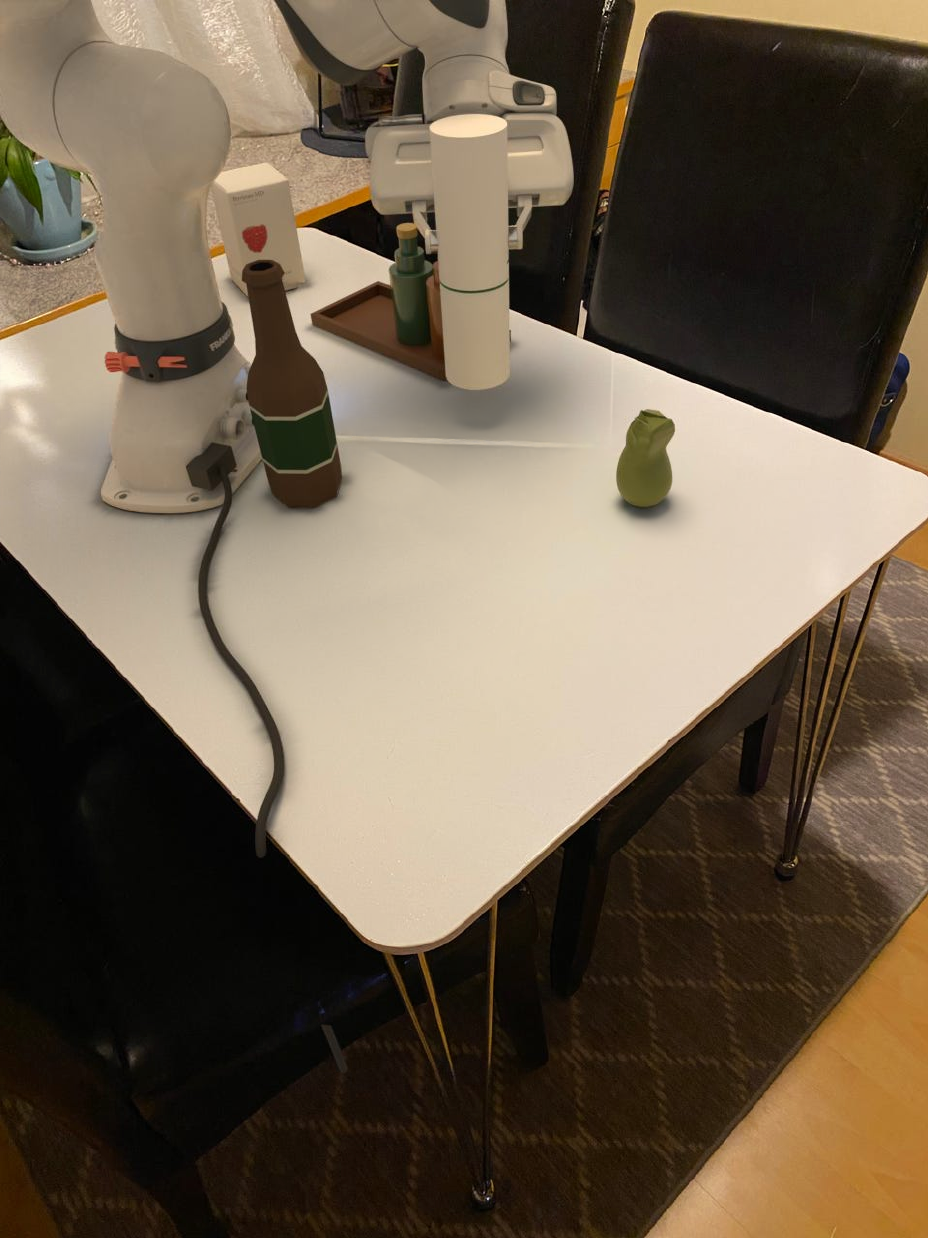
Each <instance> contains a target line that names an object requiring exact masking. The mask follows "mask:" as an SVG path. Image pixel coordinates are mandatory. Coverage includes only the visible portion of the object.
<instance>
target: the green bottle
mask: <svg viewBox="0 0 928 1238" xmlns="http://www.w3.org/2000/svg"><path fill="white" fill-rule="evenodd" d="M418 231H419V229H418V228H417V227H416V225H415V224H414V222H405V223H400V224H398V225H397V226H396V236H397V238H398V245H399V248H397V249H395V251H394V261H395V262H394V263H392V264H391V265H390V266H389V267H388V277H389V285H390V287H391V296H392V305H393V314H394V323H395V332H396V338H397V340H398V341H399V342H400V343H402V344H405V345H413V346H414V345H423V344H427V343H430V342H431V336H430V324H429V312H428V300H427V288H426V281H427V279H428V278H429V277H431V276H433V264H432V263H431V261H428V260H425V250H424V249H423V247H421V246H419V245H418V234H419V232H418Z"/></svg>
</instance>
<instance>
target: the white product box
mask: <svg viewBox="0 0 928 1238" xmlns="http://www.w3.org/2000/svg"><path fill="white" fill-rule="evenodd" d="M210 191H211V195H212V200H213V204H214V208H215V213H216V217H217V221H218V227H219V231H220V235H221V239H222V243H223V248H224V252H225V257H226V262H227V266H228V270H229V275H230V278H231V280H232V281H233V282H234V283H235V285H236V286H237V287H238V288H239V289H240V290H241V291H242V292H243V294H244V295H245V296H246V297H247V298H248V292H247V285H246V283H244V282H243V281H242V270H243V269H244V267H245V265H246V264H248V263H251V262H254V261H257V260H274V261H275V262H277V263H279V264H280V265H281V267H282V269H283V271H284V275H283V277H282V281H283V285H284V288H285V292H287V291H290V290H294V289H297V288H299V287H300V285H301V284H304V283H307V281H306V275H305V268H304V263H303V258H302V252H301V246H300V240H299V233H298V229H297V223H296V217H295V212H294V205H293V200H292V199H293V198H292V194H291V193H292V192H291V188H290V182H289V179H288V178H287V177H286V176H285V175H284V174H282V173H281V172H279V171H278V170H277V169H276V168H275V167H274V166H272V164H270V163H269V162H268V161H267V162H261V163H257V164H254V165H253V164H252V165H248V166H242V167H237V168H233V169H228V170H225V171H221V173H220V174H219V176H218V177H217V178H216V179H215V180H214V181H213V183H212V184H211V186H210Z"/></svg>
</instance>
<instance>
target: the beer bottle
mask: <svg viewBox="0 0 928 1238" xmlns="http://www.w3.org/2000/svg"><path fill="white" fill-rule="evenodd" d="M283 275H284V271H283V269H282V267H281V265H280V264H279V263H277V262H275V261H274V260H257V261H254V262H251V263H248V264H246V265H245V267H244V269H243V270H242V281H243V282H244V283H246V285H247V292H248V297H247V298H248V303H249V310H250V316H251V322H252V327H253V328H252V329H253V334H254V344H255V346H254V347H255V356H254V358H253V360H252V362H251V367H250V370H249V372H248V379H247V386H246V389H247V396H248V402H249V407H250V411H251V415H252V419H253V423H254V427H255V431H256V435H257V439H258V443H259V447H260V451H261V455H262V459H261V460H262V463H263V467H264V471H265V475H266V479H267V483H268V486H269V489H270V492H271V494H272V495H273V496H274V497H275V498H276V499H277V500H278V501H280V502H281V503H282V504H284V505H285V506H286V507H287V508H290V509H291V508H293V509H295V508H297V509H299V508H300V509H301V508H302V509H309V508H310V509H315V508H316V507H319V506H321V505H323V504H324V503H327V502H329V501H331V500H333V499H335V498H337V496H338V494H339V490H340V487H341V483H342V480H343V474H342V473H343V472H342V463H341V457H340V451H339V446H338V439H337V435H336V429H335V423H334V418H333V411H332V406H331V401H330V395H329V389H328V385H327V381H326V378H325V373H324V371H323V369H322V368H321V366H320V365H319V363H318V361H317V360H316V358H315V357H314V356H313V355H311V353H310V352H308V351H307V350H306V349H305V347H303V346H302V344H301V342H300V338H299V336H298V334H297V330H296V326H295V323H294V320H293V316H292V312H291V308H290V304H289V299H288V297H287V291H285V288H284V285H283V281H282V277H283Z"/></svg>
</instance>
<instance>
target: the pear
mask: <svg viewBox="0 0 928 1238" xmlns="http://www.w3.org/2000/svg"><path fill="white" fill-rule="evenodd" d="M675 432H676V424H675V423H674V421H673V419H672V418H669V417H667V416H665V415H664V414H663V413H662V412H661V411H660V410H656V409H650V408H646V409H644V410H642V409H641V410H640V411H639V413H638V415H637V416H636V417H634V420H633V421H632V422H631V423H630V425H629V427H628V428H627V431H626V435H625V445H624V447H623V449H622V451H621V453H620V455H619V458H618V462H617V465H616V473H615V480H616V481H615V482H616V486H617V490H618V492H619V494H620V495H621V497H622V498H623V499H624V500H625V501H626V502H627V503H629V504H630V505H633V506H636V507H639V508H648V507H649V508H650V507H653V506H656V505H657V504H659V503H661V502H662V501H663V500H664V499H666V497H667V496H668V494H669V493H670V490H671V488H672V484H673V469H672V465H671V460H670V458H669V457H670V456H669V454H668V452H667V446H668V445H669V443H670V442H671V441H672V439H673V437H674V435H675V434H676V433H675Z"/></svg>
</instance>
